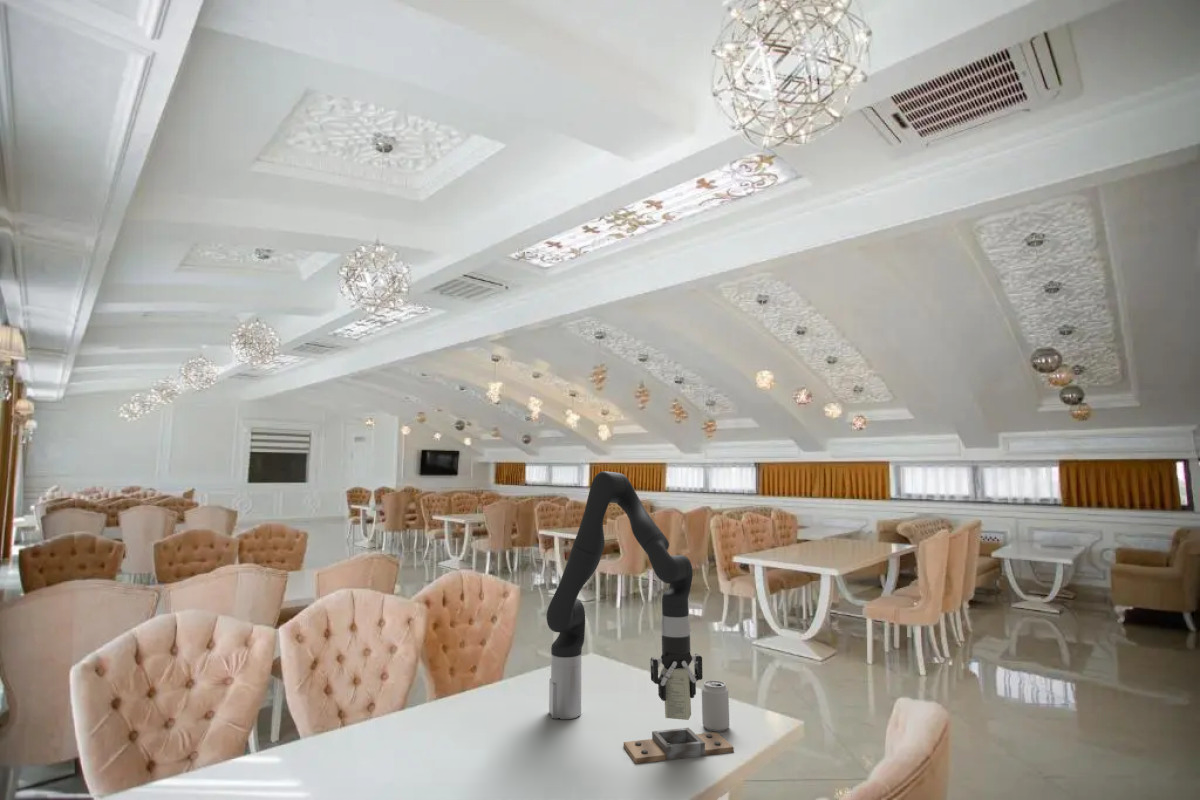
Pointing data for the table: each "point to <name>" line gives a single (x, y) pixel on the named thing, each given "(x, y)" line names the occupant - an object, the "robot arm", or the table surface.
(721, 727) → the can
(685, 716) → the skincare box
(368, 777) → the table surface
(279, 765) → the table surface
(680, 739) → the mounting bracket
